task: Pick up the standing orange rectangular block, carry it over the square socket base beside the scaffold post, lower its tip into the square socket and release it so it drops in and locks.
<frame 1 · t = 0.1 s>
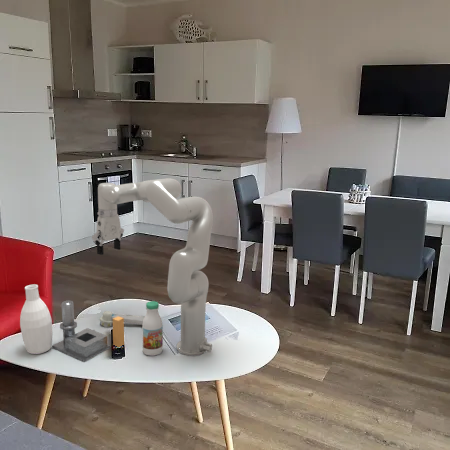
hand: (108, 251, 196), 31 cm above the table, fingers open, 9 cm apart
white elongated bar: (129, 326, 198), on the table
orange rectangular block: (118, 346, 179), on the table
milk bottle: (152, 351, 177), on the table
square socket base: (86, 350, 176), on the table
bottle: (39, 349, 176), on the table, touching square socket base
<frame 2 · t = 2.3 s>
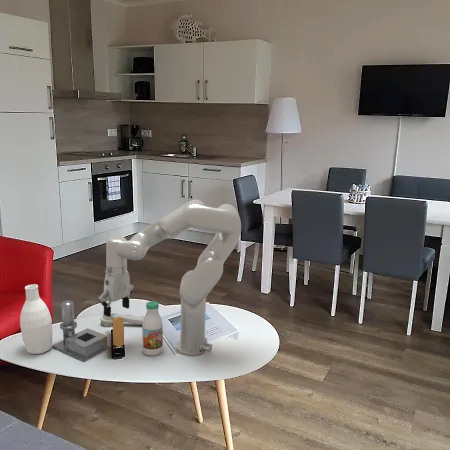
hand: (116, 311, 176), 15 cm above the table, fingers open, 9 cm apart
nothing on the table moved.
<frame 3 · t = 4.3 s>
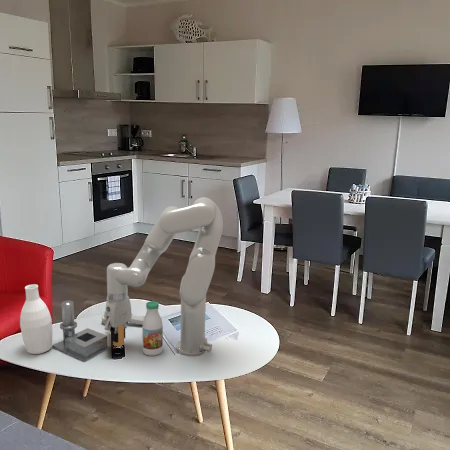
hand: (118, 339, 179), 3 cm above the table, fingers closed on orange rectangular block, 3 cm apart
orange rectangular block: (118, 346, 179), on the table, touching gripper
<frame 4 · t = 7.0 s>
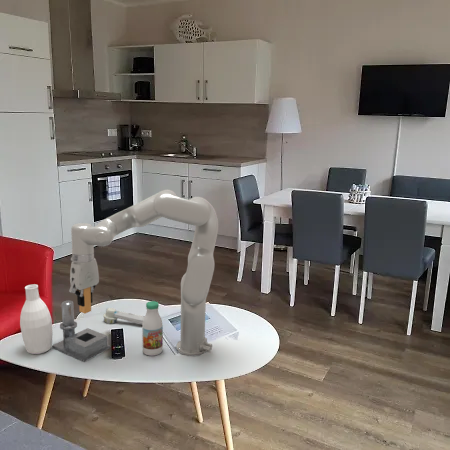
hand: (85, 303, 172), 19 cm above the table, fingers closed on orange rectangular block, 3 cm apart
orange rectangular block: (85, 311, 172), point 16 cm above the table, touching gripper
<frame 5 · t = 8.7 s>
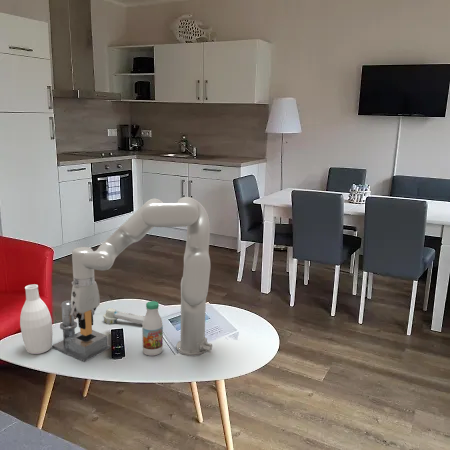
hand: (86, 325, 174), 10 cm above the table, fingers closed on orange rectangular block, 3 cm apart
orange rectangular block: (86, 333, 175), point 7 cm above the table, touching gripper
when the fingers open (6 cm above the table, at t = 10.0 s): orange rectangular block drops 2 cm, resting on square socket base.
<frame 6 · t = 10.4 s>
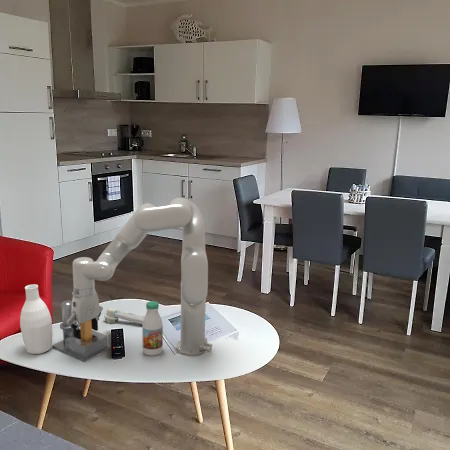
hand: (86, 333, 174), 7 cm above the table, fingers open, 7 cm apart
orange rectangular block: (86, 347, 176), point 1 cm above the table, touching square socket base
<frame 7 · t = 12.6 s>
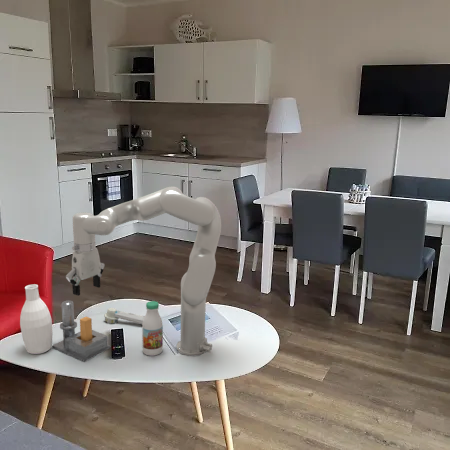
hand: (86, 290, 171), 24 cm above the table, fingers open, 9 cm apart
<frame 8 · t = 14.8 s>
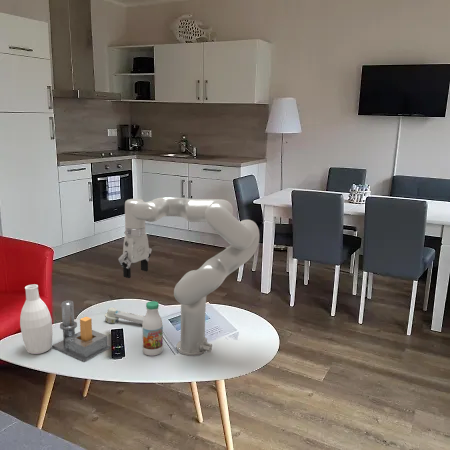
hand: (135, 273, 178), 28 cm above the table, fingers open, 9 cm apart
at the end: orange rectangular block 0.1 cm off-centre on the square socket base, point 1.0 cm above the square socket base's base; orange rectangular block tilted 0°; the gripper is holding nothing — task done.
